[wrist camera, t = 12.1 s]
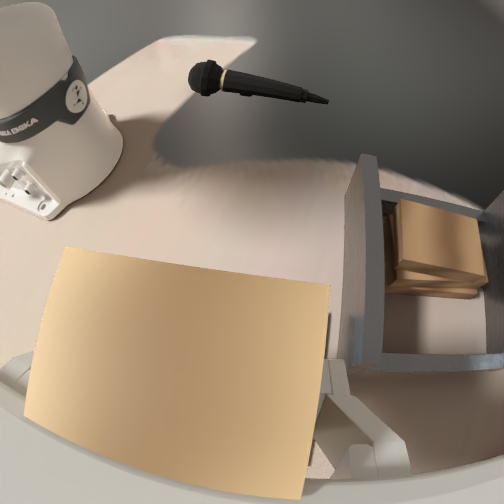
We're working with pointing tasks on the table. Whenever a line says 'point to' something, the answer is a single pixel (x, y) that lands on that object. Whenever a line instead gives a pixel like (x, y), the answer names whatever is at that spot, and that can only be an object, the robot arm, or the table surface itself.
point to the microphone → (244, 84)
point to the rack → (373, 281)
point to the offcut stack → (432, 252)
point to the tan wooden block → (182, 370)
